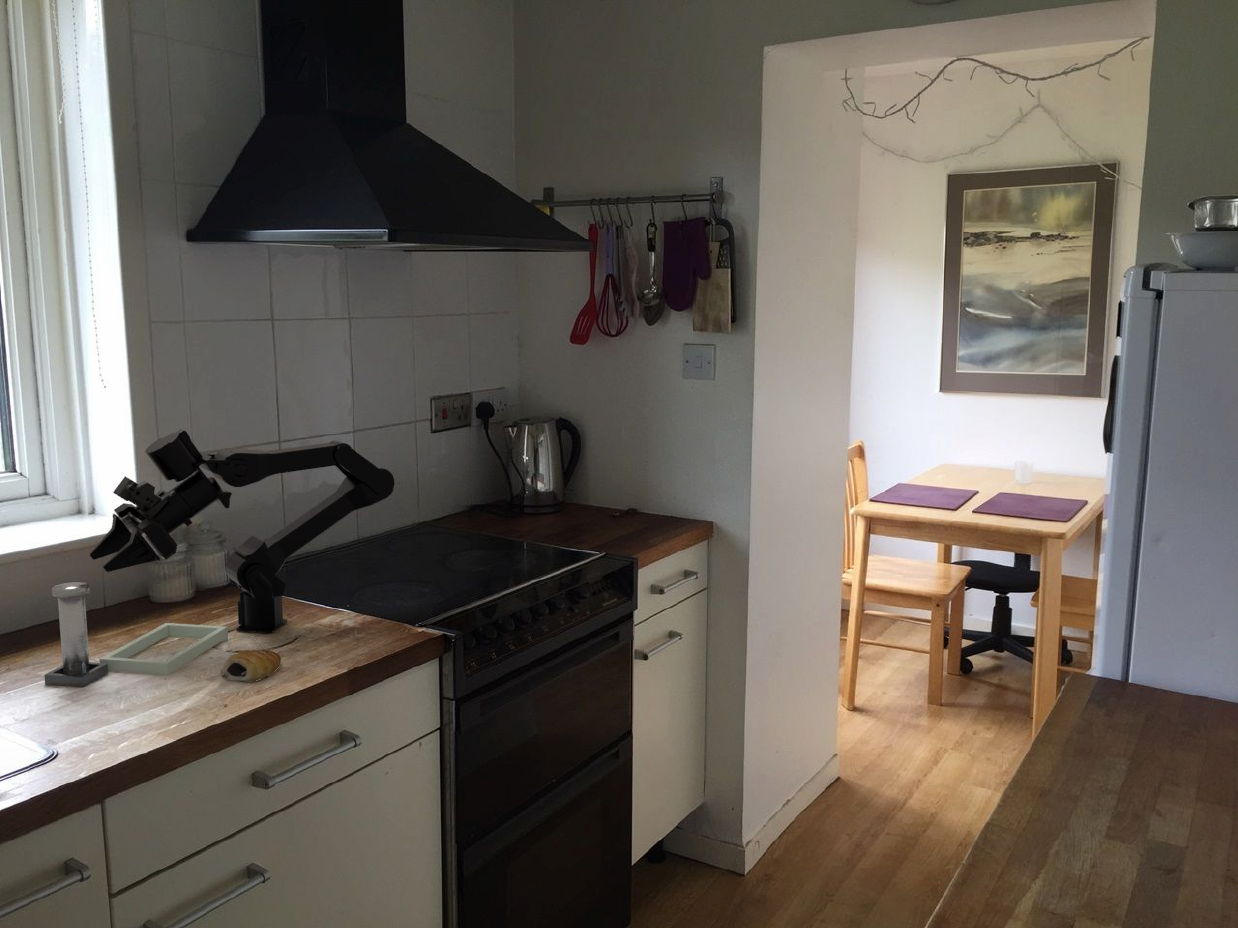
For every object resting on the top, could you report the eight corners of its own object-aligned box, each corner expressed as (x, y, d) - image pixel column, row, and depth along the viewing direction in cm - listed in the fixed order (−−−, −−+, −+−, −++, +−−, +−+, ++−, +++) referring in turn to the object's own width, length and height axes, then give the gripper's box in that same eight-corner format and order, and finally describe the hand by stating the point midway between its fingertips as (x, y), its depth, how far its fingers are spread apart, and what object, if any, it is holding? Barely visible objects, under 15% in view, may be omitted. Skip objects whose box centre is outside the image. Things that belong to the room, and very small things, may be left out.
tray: (228, 641, 181) (227, 626, 181) (168, 679, 163) (167, 663, 163) (166, 637, 183) (165, 622, 182) (100, 674, 165) (99, 658, 165)
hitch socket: (108, 677, 164) (107, 663, 163) (83, 692, 158) (82, 677, 157) (71, 675, 165) (70, 660, 164) (45, 689, 159) (44, 674, 158)
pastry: (256, 660, 173) (255, 637, 172) (293, 666, 171) (292, 642, 170) (217, 680, 164) (216, 656, 163) (255, 686, 162) (254, 661, 161)
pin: (102, 673, 163) (95, 583, 161) (81, 685, 158) (75, 592, 156) (72, 671, 164) (66, 581, 162) (51, 683, 159) (44, 590, 157)
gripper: (138, 455, 181) (53, 513, 175) (170, 471, 167) (78, 535, 160) (178, 507, 186) (96, 565, 180) (212, 528, 172) (124, 591, 165)
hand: (97, 563), depth 171 cm, fingers open, 9 cm apart
